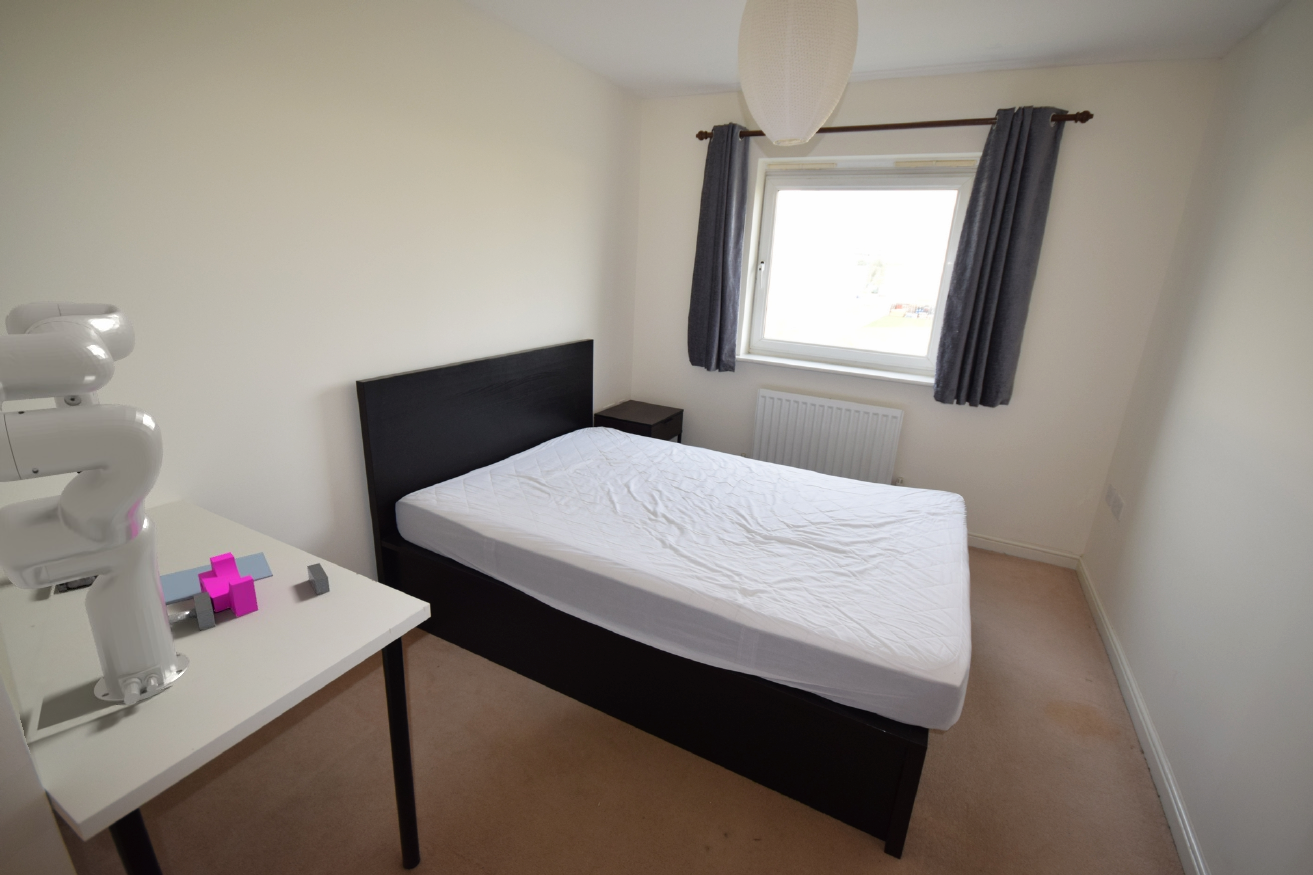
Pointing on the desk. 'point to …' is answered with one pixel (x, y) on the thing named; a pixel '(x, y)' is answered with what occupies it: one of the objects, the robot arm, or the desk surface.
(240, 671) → the desk surface
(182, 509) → the desk surface
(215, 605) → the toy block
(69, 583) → the tank toy
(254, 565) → the rubber mat
